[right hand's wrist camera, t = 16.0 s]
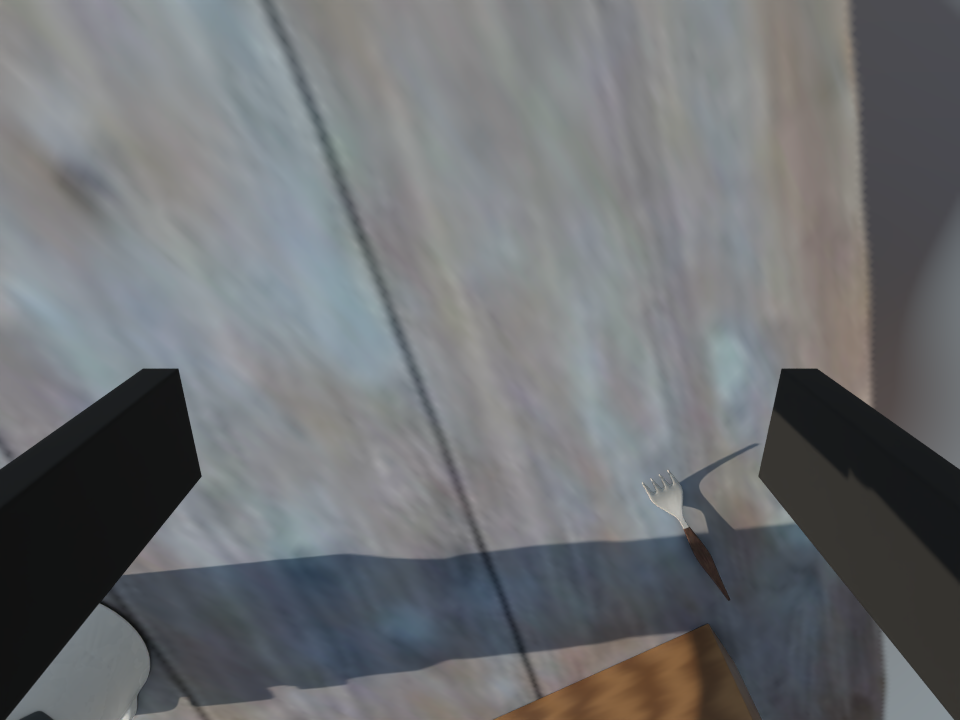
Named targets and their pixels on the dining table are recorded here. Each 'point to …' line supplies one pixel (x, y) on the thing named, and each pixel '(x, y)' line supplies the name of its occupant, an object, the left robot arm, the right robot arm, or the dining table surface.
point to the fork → (684, 524)
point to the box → (655, 687)
